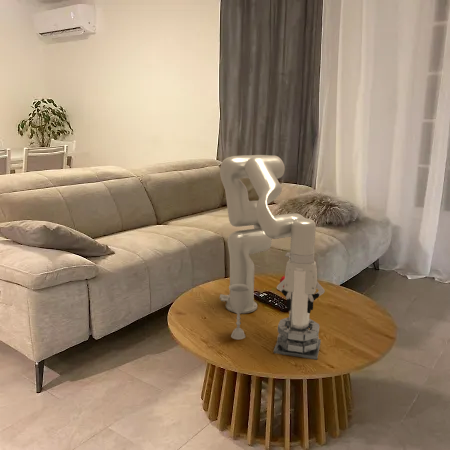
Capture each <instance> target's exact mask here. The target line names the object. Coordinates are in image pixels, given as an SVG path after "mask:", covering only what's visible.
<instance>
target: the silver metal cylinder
mask: <svg viewBox="0 0 450 450" xmlns="http://www.w3.org/2000/svg"><path fill="white" fill-rule="evenodd" d="M305 273H306V271H303V268H296V270H294V292H293V293H291V296H290V300H291V298H292V300H291V311H288V312H289V314H288V317H289V330H291V331H297V332H305V331H309V330H310V328H309V319H310V314H311V312H310V313H308V303H309V300H310V299H309V294H305V283H306V280H305V279H306V278H305ZM294 341H299V340H294ZM303 341H304V340H303Z"/></svg>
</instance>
